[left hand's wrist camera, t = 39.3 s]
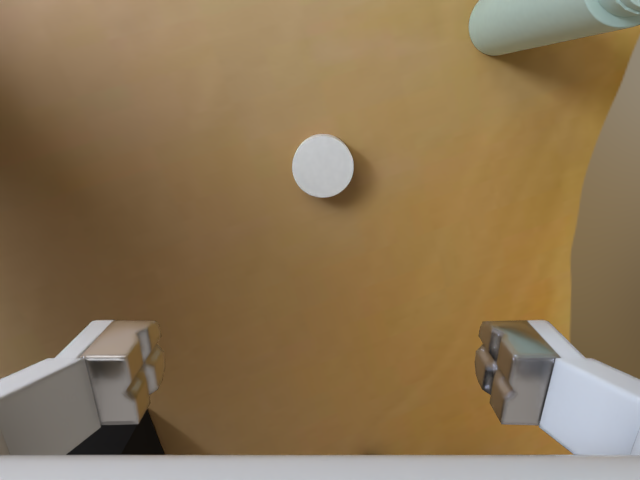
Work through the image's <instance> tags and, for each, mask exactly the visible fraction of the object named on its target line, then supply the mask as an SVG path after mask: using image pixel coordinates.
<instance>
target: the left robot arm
mask: <svg viewBox="0 0 640 480" xmlns="http://www.w3.org/2000/svg"><path fill="white" fill-rule="evenodd" d="M160 338H161V331H160V326H159V324H158V323H157V322H156V321H139V320H95V321H92V322H91V323H90V324H89V325H88V326H87V327H86V328H85V329H84V330H83V331H82V332H81V333H79V334H78V335H77V336H76V337H75V338H74V339H73V340H72V341H71V342H70V343H69V344H68V345H67V346H66V347H65V348H64V349H63V350H62V351H61V352H60V353H59V354H58V355H57V356H56V357H55V358H47V359H45V360H42V361H40V362H38V363H36V364H33V365H31V366H29V367H27V368H24V369H22V370H20V371H18V372H15V373H13V374H11V375H9V376H6V377H4V378H2V379H0V480H640V379H638V378H636V377H633V376H631V375H629V374H627V373H624V372H622V371H620V370H618V369H615V368H613V367H611V366H609V365H606V364H604V363H602V362H600V361H598V360H595V359H593V358H585V357H584V356H583V355H582V354H581V353H580V352H579V351H578V350H577V349H576V348H575V347H574V346H573V345H572V344H571V343H570V342H569V341H568V340H567V339H566V338H565V337H564V336H563V335H562V334H561V333H560V332H559V331H558V330H557V329H556V328H555V327H554V326H552V325H551V324H550V323H549V322H548V321H545V320H520V321H484V322H482V324H481V326H480V330H479V338H480V339H481V341H482V342H483V345H482V346H481V347H480V348H479V349H478V350H477V351H476V356H475V371H476V376H477V379H478V382H479V384H480V386H481V388H482V390H484V391H485V392H487V393H488V394H490V395H491V397H490V404H491V406H492V408H493V410H494V412H495V413H496V415H497V417H498V419H499V421H500V422H501V424H511V425H539V427H540V428H541V429H542V430H543V431H545V432H546V433H547V434H549V435H550V436H551V437H552V438H554V439H555V440H556V441H557V442H559V443H560V444H561V445H563V446H564V447H565V448H566V449H568V450H569V451H570V452H571V453H573V454H574V455H66V454H67V453H69V452H70V451H71V450H73V449H74V448H75V447H76V446H78V445H79V444H80V443H81V442H83V441H84V440H85V439H87V438H88V437H89V436H90V435H92V434H93V433H94V432H95V431H97V430H98V429H99V428H101V425H128V424H139V422H140V421H141V419H142V417H143V415H144V413H145V412H146V410H147V408H148V406H149V404H150V397H149V395H150V394H152V393H153V392H155V391H156V390H158V388H159V386H160V384H161V382H162V380H163V376H164V371H165V355H164V351H163V350H162V349H161V348H160V347H159V346H158V345H157V342H158V341H159V339H160Z"/></svg>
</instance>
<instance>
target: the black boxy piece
mask: <svg viewBox="0 0 640 480" xmlns="http://www.w3.org/2000/svg"><path fill="white" fill-rule="evenodd" d="M66 455H164V452H163V450H162V447H161V445H160V442H159V439H158V437H157V434H156V432H155V429H154V426H153V424H152V421H151V419H150V416H149V413H148V411H147V410H146V412H145V413H144V415H143V417H142V419H141V421H140V422H139V424H128V425H101V428H99V429H98V430H97V431H95V432H94V433H93V434H92V435H90V436H89V437H88V438H87V439H85V440H84V441H83V442H81V443H80V444H79V445H78V446H76V447H75V448H74V449H73V450H71V451H70V452H69V453H67V454H66Z"/></svg>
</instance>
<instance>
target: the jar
mask: <svg viewBox="0 0 640 480" xmlns="http://www.w3.org/2000/svg"><path fill="white" fill-rule="evenodd" d="M637 25H640V0H479V1H478V3H477V4H476V5H475V7H474V9H473V11H472V13H471V16H470V20H469V34H470V38H471V40H472V42H473V44H474V46H475V47H476V48H477V49H478V50H479V51H481V52H482V53H484V54H487V55H492V56H497V55H503V54H507V53H512V52H517V51H522V50H526V49H531V48H536V47H540V46H545V45H550V44H555V43H559V42H564V41H569V40H573V39H578V38H583V37H588V36H592V35H597V34H602V33H606V32H611V31H616V30H621V29H625V28H630V27H634V26H637Z"/></svg>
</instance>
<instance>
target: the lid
mask: <svg viewBox="0 0 640 480" xmlns="http://www.w3.org/2000/svg"><path fill="white" fill-rule="evenodd" d="M292 171H293V176H294V179H295V181H296V183H297V184H298V186H299V187H300V188H301V189H302V190H303V191H304V192H306V193H307V194H309V195H312V196H314V197H320V198H326V197H331V196H334V195H337V194H338V193H340V192H341V191H343V190H344V189H345V188H346V187H347V185H348V184H349V182H350V181H351V178H352V176H353V171H354V163H353V158H352V155H351V153H350V151H349V149H348V147H347V146H346V145H345V143H344V142H343V141H341V140H340V139H339V138H337V137H335V136H333V135H329V134H317V135H313V136H311V137H309V138H307V139H306V140H304V141H303V142H302V143H301V144H300V146H299V147H298V148H297V150H296V153H295V155H294V158H293V162H292Z"/></svg>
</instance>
